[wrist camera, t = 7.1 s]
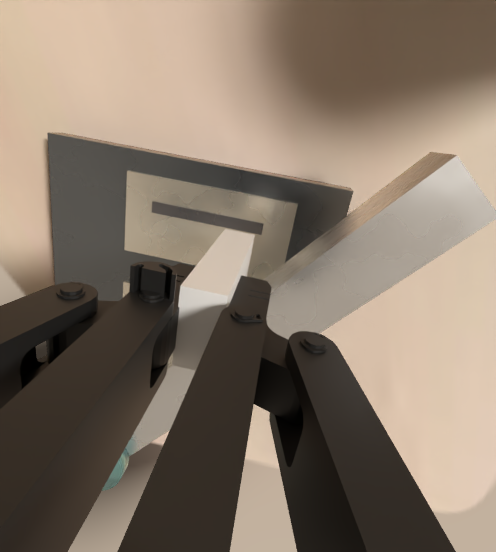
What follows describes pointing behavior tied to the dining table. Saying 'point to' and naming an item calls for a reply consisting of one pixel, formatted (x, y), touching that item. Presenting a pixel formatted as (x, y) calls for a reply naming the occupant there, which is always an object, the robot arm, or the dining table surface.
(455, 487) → the dining table surface
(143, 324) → the robot arm
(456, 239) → the swing bar
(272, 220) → the label plate
